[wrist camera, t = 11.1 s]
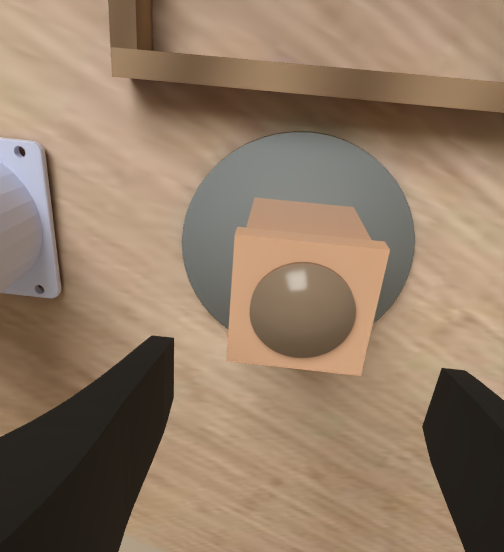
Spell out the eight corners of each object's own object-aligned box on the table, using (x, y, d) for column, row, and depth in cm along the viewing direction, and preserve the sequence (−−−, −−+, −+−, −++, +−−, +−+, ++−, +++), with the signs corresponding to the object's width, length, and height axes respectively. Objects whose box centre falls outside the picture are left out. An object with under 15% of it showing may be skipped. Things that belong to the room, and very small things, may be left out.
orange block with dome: (241, 289, 21) (225, 365, 15) (249, 191, 19) (233, 237, 13) (341, 300, 21) (361, 381, 15) (360, 202, 19) (392, 253, 13)
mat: (183, 331, 23) (180, 337, 23) (186, 119, 19) (183, 120, 18) (384, 354, 23) (386, 360, 22) (438, 143, 18) (443, 145, 18)
